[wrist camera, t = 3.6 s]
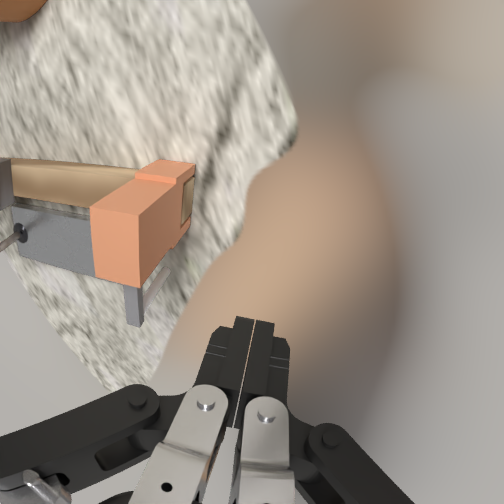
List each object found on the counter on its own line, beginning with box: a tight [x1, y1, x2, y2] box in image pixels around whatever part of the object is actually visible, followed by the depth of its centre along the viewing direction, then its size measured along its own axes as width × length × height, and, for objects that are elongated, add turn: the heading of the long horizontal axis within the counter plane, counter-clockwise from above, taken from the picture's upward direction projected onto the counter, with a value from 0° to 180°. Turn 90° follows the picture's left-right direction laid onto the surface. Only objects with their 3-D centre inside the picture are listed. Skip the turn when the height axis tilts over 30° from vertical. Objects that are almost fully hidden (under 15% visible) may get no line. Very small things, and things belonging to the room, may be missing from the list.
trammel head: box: [89, 159, 195, 327], centre depth 22 cm, size 10×3×10 cm, turn 171°
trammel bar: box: [0, 158, 195, 252], centre depth 24 cm, size 9×24×7 cm, turn 82°
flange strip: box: [11, 203, 123, 285], centre depth 28 cm, size 6×16×1 cm, turn 82°
